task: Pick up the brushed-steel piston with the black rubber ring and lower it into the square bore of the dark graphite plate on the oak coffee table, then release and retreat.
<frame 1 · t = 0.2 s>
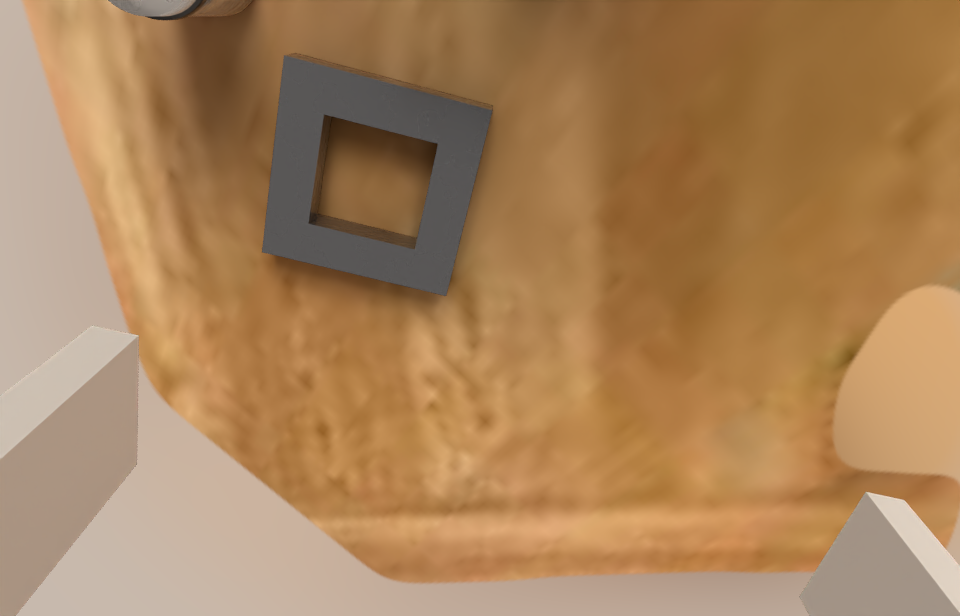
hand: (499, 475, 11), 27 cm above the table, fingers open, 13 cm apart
bore plate: (377, 176, 37), on the table
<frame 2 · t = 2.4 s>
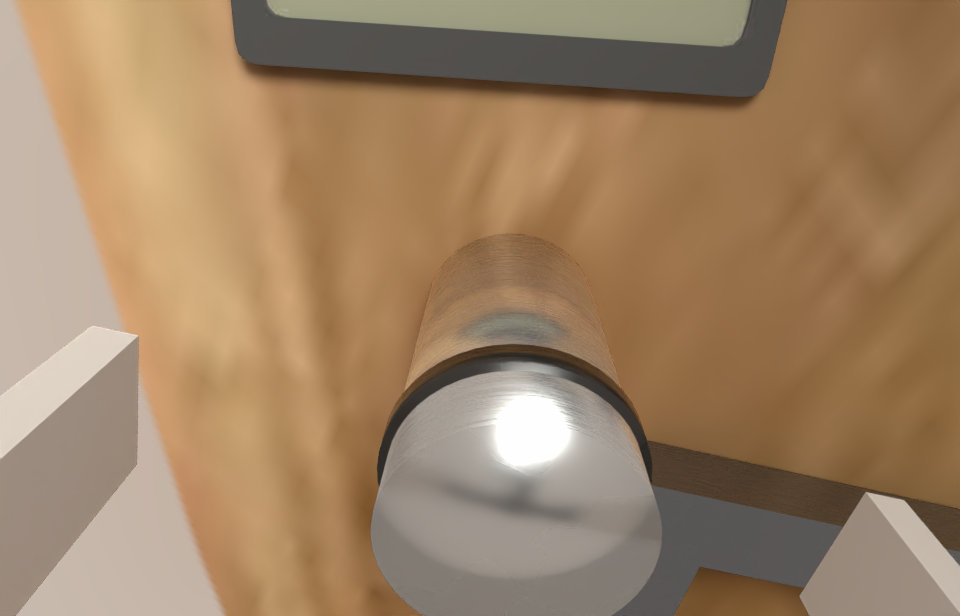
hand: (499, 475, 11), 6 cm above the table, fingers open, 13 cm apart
bore plate: (735, 602, 21), on the table
piston: (509, 312, 17), on the table
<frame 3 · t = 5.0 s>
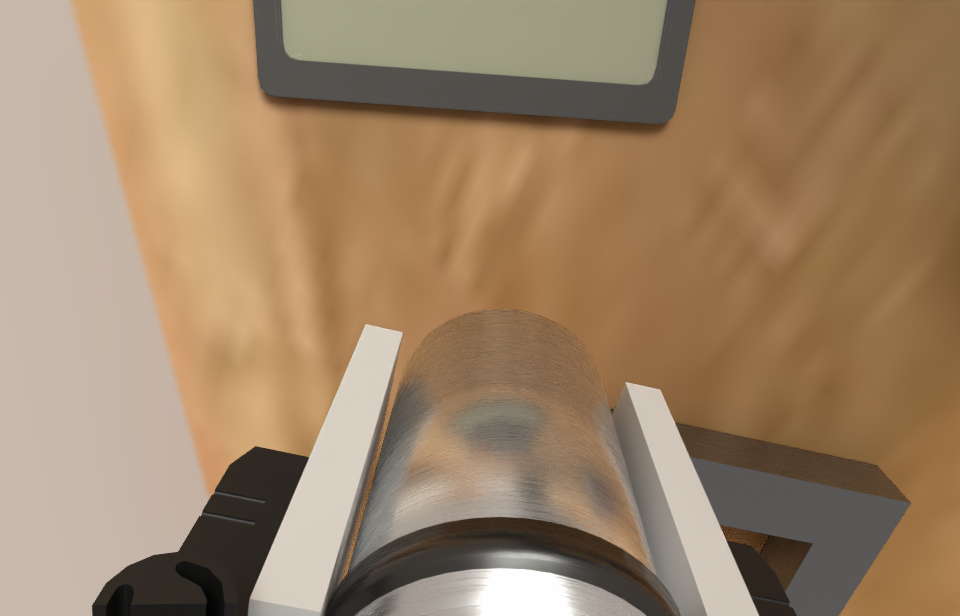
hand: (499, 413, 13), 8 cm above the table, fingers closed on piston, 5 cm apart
bore plate: (679, 550, 25), on the table
piston: (500, 401, 14), point 7 cm above the table, touching gripper
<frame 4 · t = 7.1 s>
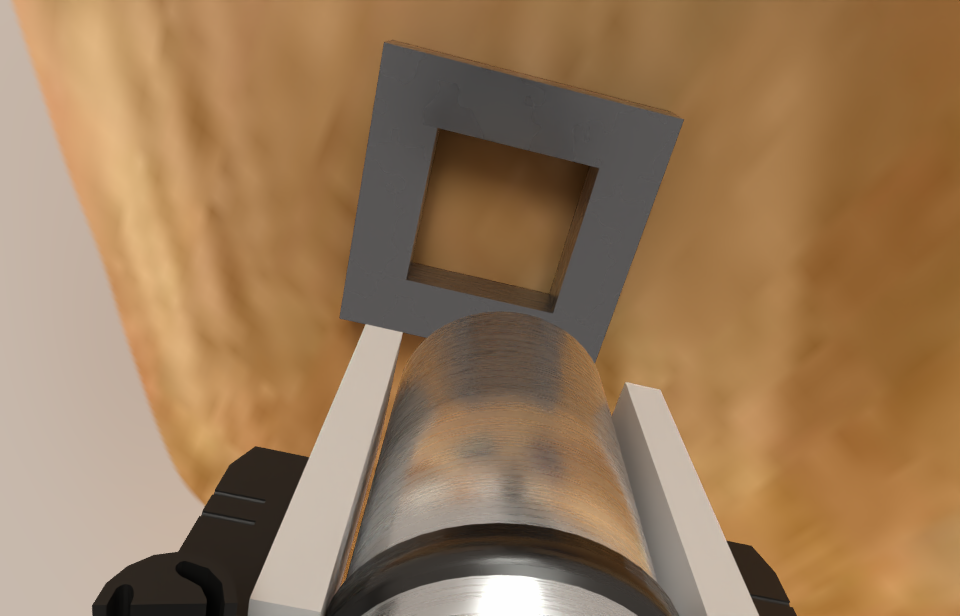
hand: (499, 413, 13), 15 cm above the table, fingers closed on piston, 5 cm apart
bore plate: (498, 211, 27), on the table
piston: (500, 404, 14), point 14 cm above the table, touching gripper
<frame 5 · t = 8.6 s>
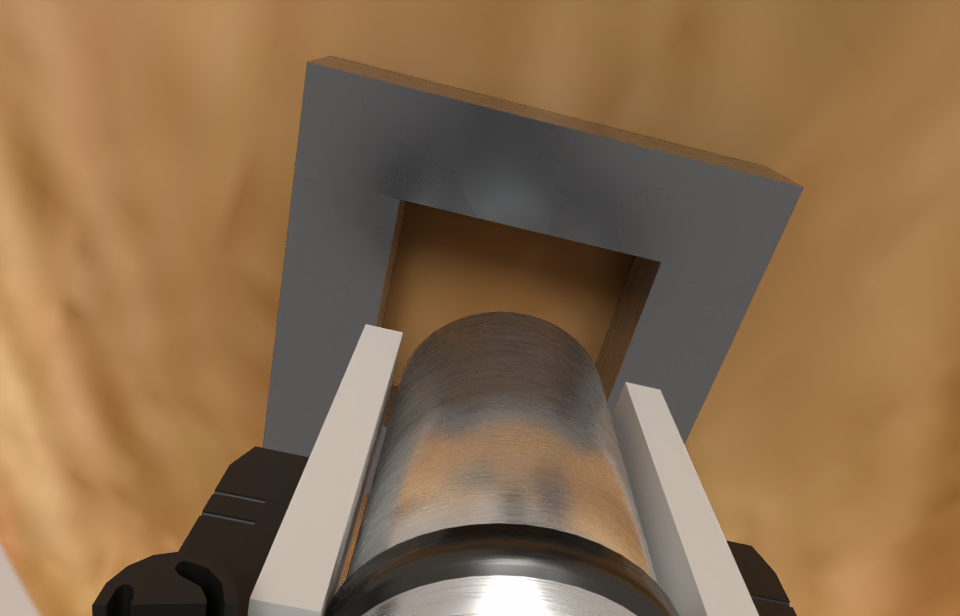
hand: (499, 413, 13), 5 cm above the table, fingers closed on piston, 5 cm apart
bore plate: (499, 312, 18), on the table
piston: (500, 404, 14), point 4 cm above the table, touching gripper
when the fingers open (4 cm above the table, at t = 9.6 s): piston drops 3 cm, resting in bore plate.
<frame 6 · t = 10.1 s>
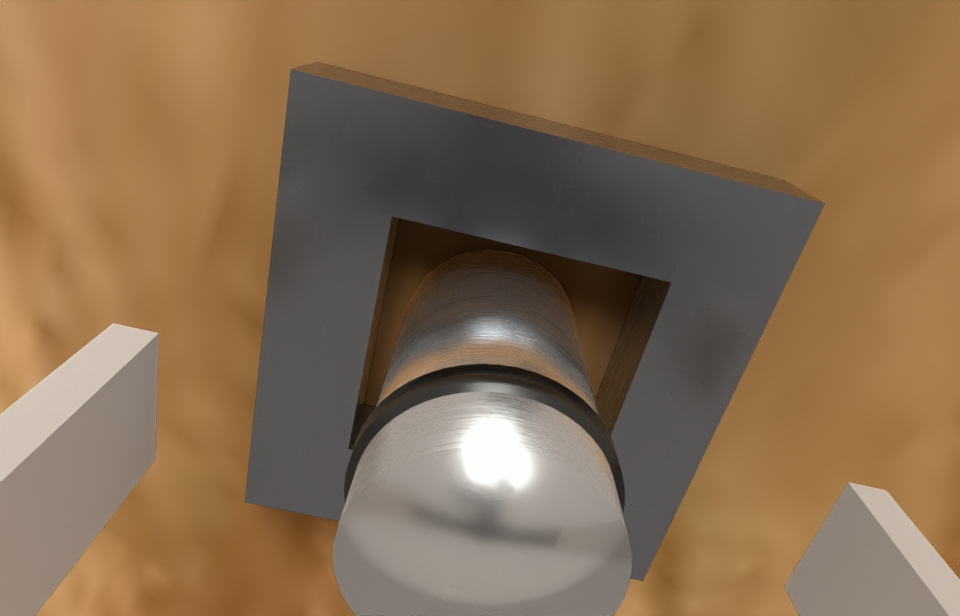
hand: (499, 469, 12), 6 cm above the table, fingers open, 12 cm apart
bore plate: (498, 332, 17), on the table
piston: (489, 328, 17), resting in bore plate
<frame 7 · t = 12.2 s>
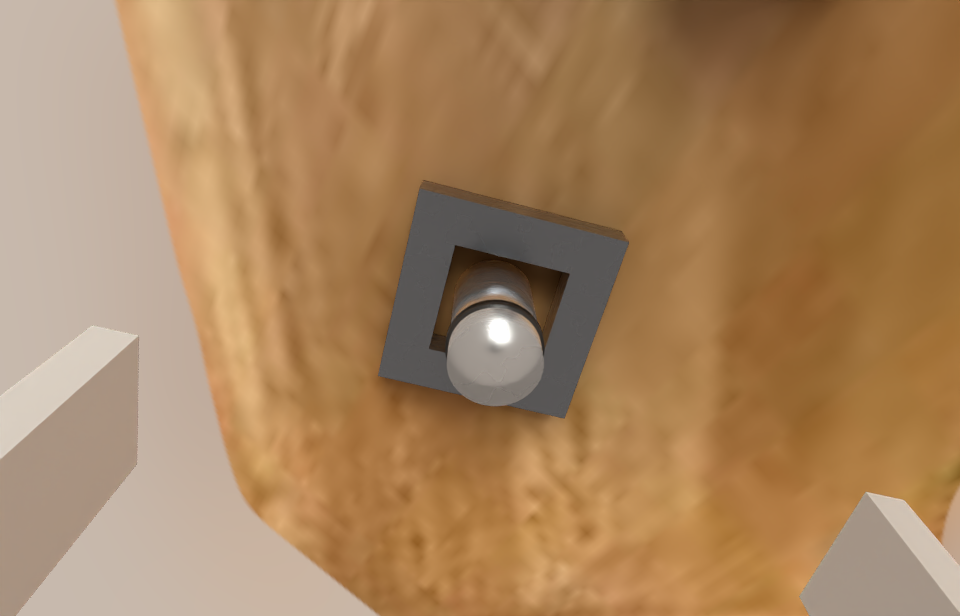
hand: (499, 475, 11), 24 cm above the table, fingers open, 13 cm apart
bore plate: (497, 298, 36), on the table
piston: (492, 296, 36), resting in bore plate
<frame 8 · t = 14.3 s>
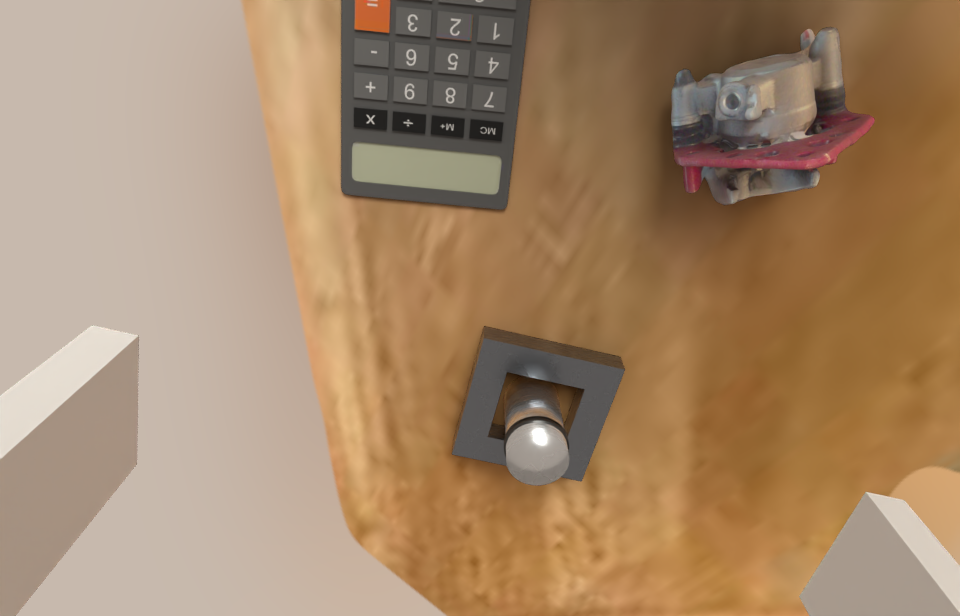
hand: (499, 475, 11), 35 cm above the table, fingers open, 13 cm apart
calculator: (431, 89, 42), on the table
bore plate: (533, 399, 52), on the table
brake caliper: (740, 119, 42), on the table
piston: (531, 398, 52), resting in bore plate
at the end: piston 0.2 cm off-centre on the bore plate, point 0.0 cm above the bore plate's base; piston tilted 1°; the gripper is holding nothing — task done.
